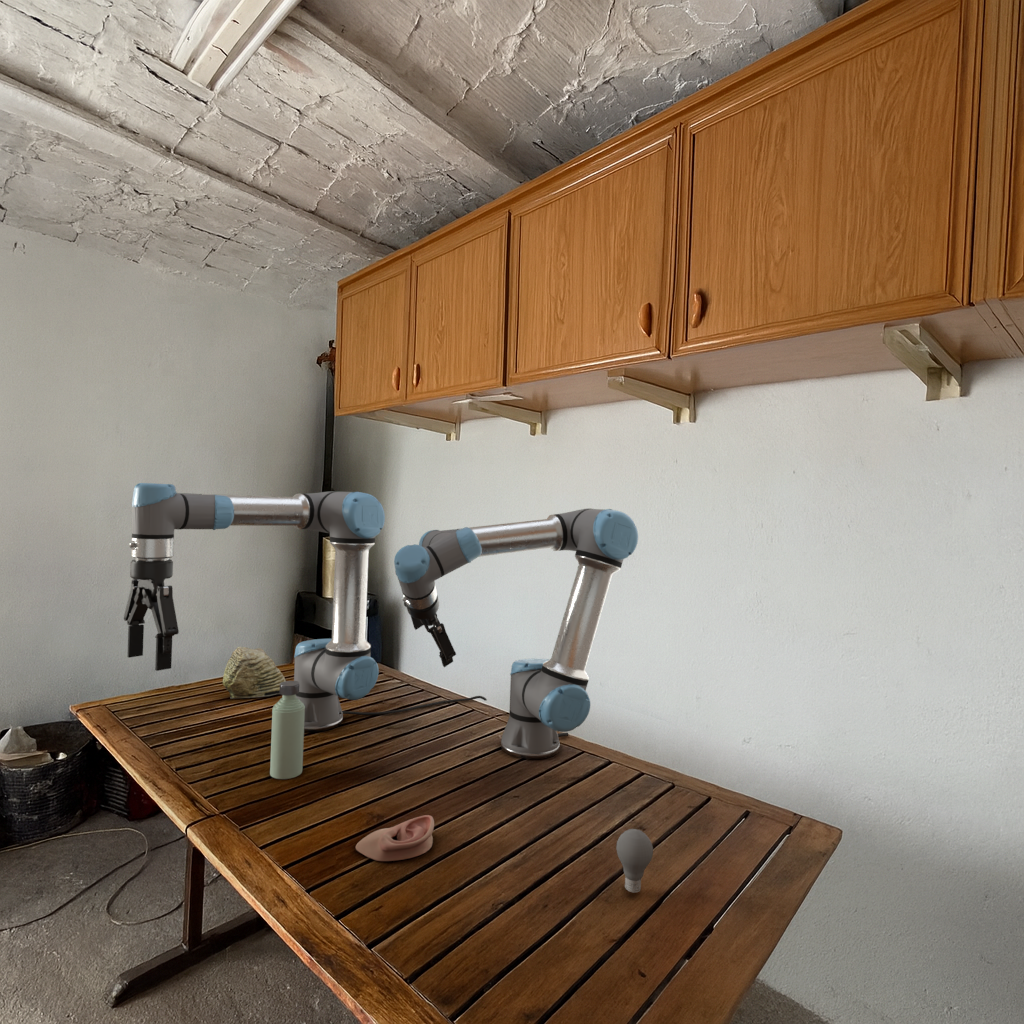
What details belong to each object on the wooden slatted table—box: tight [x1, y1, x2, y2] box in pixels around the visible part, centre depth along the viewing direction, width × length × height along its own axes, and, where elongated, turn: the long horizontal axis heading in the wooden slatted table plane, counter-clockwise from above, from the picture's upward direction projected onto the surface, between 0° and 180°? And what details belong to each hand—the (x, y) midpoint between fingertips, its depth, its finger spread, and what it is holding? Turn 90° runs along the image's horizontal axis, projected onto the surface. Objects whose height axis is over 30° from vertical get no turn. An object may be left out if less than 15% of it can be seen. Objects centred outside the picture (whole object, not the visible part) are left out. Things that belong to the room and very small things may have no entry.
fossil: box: [222, 646, 287, 699], centre depth 198 cm, size 9×18×15 cm, turn 132°
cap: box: [279, 680, 299, 696], centre depth 144 cm, size 4×4×2 cm
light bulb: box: [615, 828, 654, 894], centre depth 106 cm, size 6×6×10 cm
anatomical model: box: [355, 814, 435, 862], centre depth 116 cm, size 13×4×12 cm
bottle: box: [269, 695, 305, 780], centre depth 144 cm, size 7×7×20 cm
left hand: (148, 662), depth 129 cm, fingers open, 13 cm apart
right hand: (433, 644), depth 161 cm, fingers open, 13 cm apart
